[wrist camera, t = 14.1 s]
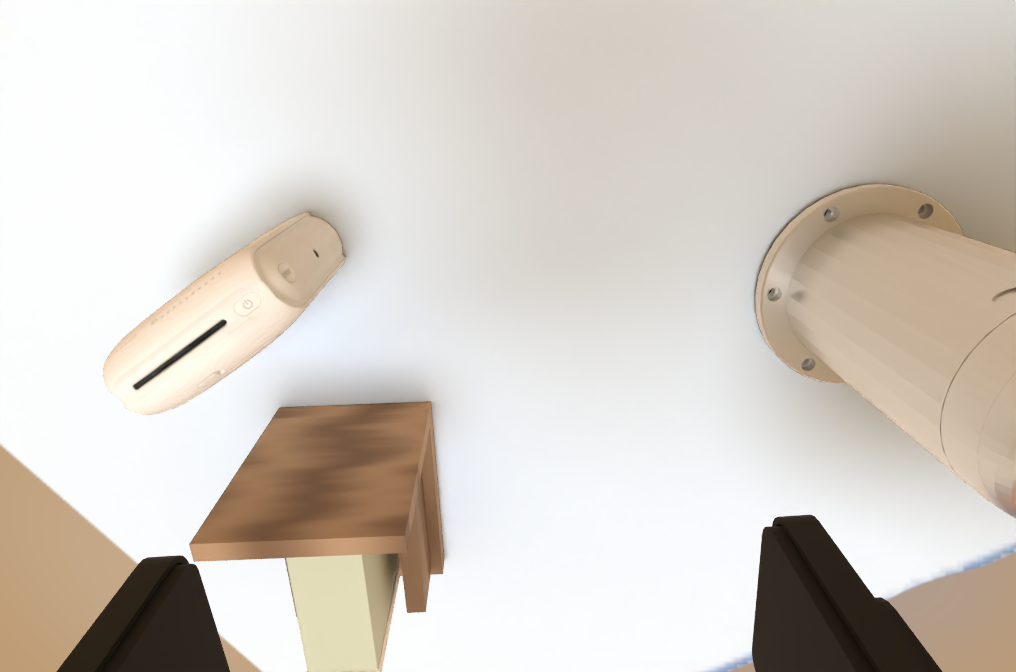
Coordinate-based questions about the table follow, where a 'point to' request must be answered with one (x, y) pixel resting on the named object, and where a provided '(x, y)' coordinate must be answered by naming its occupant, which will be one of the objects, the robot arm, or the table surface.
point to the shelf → (336, 492)
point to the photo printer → (224, 317)
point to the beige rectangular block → (344, 609)
